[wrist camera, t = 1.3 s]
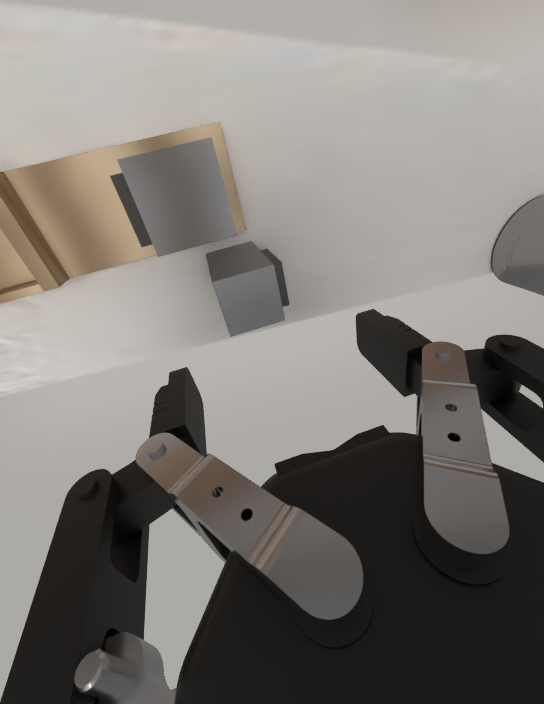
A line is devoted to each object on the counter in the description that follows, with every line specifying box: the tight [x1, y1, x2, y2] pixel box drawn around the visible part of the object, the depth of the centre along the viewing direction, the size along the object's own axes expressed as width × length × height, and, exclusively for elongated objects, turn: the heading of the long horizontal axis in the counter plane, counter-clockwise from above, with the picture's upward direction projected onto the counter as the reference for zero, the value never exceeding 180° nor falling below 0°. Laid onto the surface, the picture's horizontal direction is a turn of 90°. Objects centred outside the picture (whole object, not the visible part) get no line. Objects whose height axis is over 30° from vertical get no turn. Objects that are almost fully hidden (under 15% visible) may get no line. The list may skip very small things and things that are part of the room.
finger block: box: [206, 241, 289, 337], centre depth 22 cm, size 5×4×8 cm
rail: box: [0, 122, 246, 303], centre depth 17 cm, size 21×7×10 cm, turn 103°
